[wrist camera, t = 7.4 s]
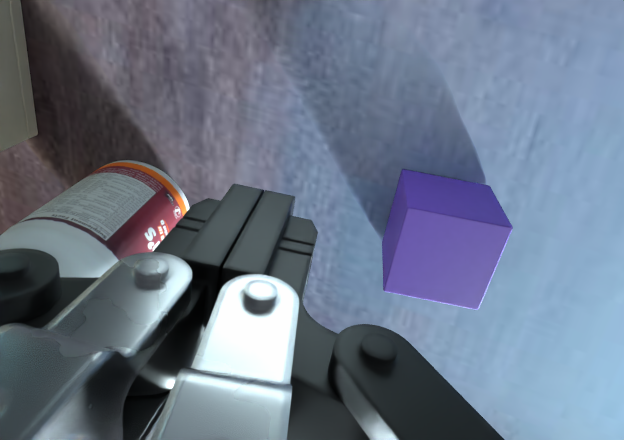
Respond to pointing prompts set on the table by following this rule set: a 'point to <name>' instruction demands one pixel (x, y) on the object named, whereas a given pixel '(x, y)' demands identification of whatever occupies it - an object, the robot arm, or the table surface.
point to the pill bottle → (103, 219)
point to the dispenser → (14, 79)
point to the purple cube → (443, 239)
